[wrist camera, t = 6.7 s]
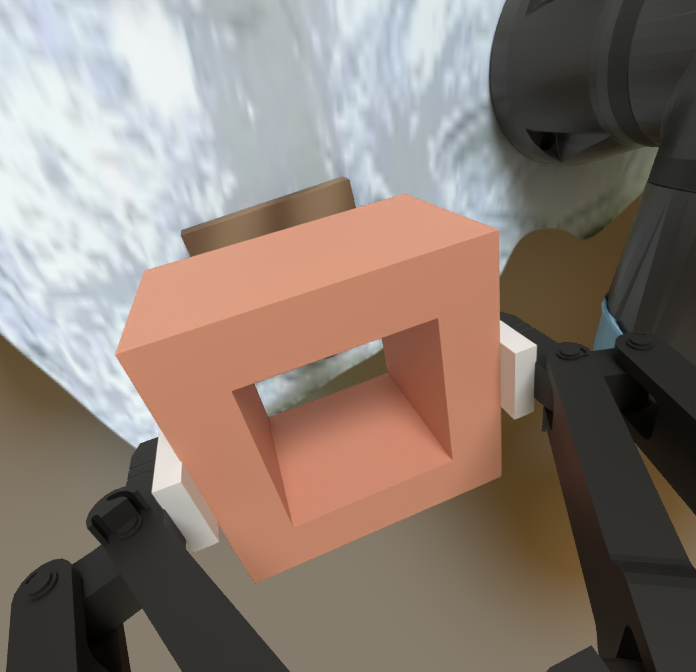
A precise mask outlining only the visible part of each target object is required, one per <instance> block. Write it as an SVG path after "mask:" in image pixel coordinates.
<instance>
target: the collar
mask: <svg viewBox="0 0 696 672" xmlns="http://www.w3.org/2000/svg"><path fill="white" fill-rule="evenodd" d="M499 297H500V294H499V230H498V229H495V228H492V227H490V226H487V225H485V224H482V223H479V222H477V221H474V220H472V219H469V218H466V217H464V216H461V215H459V214H456V213H453V212H451V211H448V210H446V209H443V208H440V207H438V206H435V205H433V204H430V203H427V202H425V201H422V200H420V199H417V198H414V197H412V196H409V195H407V194H402V195H399V196H395V197H392V198H388V199H385V200H382V201H378V202H375V203H372V204H368V205H365V206H361V207H358V208H355V209H351V210H348V211H345V212H341V213H338V214H335V215H331V216H328V217H324V218H321V219H318V220H314V221H311V222H308V223H304V224H301V225H297V226H294V227H291V228H287V229H284V230H281V231H277V232H274V233H270V234H267V235H264V236H260V237H257V238H254V239H250V240H247V241H243V242H240V243H237V244H233V245H230V246H227V247H223V248H220V249H216V250H213V251H210V252H206V253H203V254H200V255H196V256H193V257H189V258H186V259H183V260H179V261H176V262H173V263H169V264H166V265H162V266H159V267H156V268H152V269H149V270H146V271H144V273H143V276H142V279H141V282H140V285H139V287H138V290H137V293H136V296H135V299H134V302H133V305H132V308H131V310H130V313H129V316H128V319H127V322H126V325H125V328H124V331H123V333H122V336H121V339H120V342H119V345H118V348H117V351H116V354H115V355H116V357H117V359H118V360H119V362H120V363H121V365H122V367H123V368H124V370H125V372H126V373H127V375H128V377H129V378H130V380H131V382H132V383H133V385H134V386H135V388H136V390H137V391H138V393H139V395H140V396H141V398H142V400H143V401H144V403H145V405H146V406H147V408H148V410H149V411H150V413H151V414H152V416H153V418H154V419H155V421H156V423H157V424H158V426H159V428H160V429H161V431H162V433H163V434H164V436H165V437H166V439H167V441H168V442H169V444H170V446H171V447H172V449H173V451H174V452H175V454H176V456H177V457H178V459H179V460H180V462H183V464H184V466H185V467H186V469H187V471H188V472H189V474H190V476H191V477H192V479H193V481H194V482H195V484H196V486H197V487H198V489H199V491H200V492H201V494H202V496H203V497H204V499H205V500H206V502H207V504H208V505H209V507H210V509H211V510H212V512H213V514H214V515H215V517H216V519H217V520H218V525H219V526H220V528H221V530H222V531H223V532H224V534H225V536H226V538H227V539H228V541H229V543H230V544H231V546H232V548H233V549H234V551H235V552H236V554H237V556H238V558H239V559H240V561H241V562H242V564H243V566H244V567H245V569H246V571H247V572H248V574H249V576H250V577H251V579H252V580H253V582H254V584H256V583H258V582H260V581H262V580H265V579H267V578H269V577H272V576H274V575H276V574H279V573H281V572H283V571H285V570H288V569H290V568H292V567H295V566H297V565H299V564H302V563H304V562H306V561H308V560H311V559H313V558H315V557H317V556H320V555H322V554H324V553H327V552H329V551H331V550H334V549H336V548H338V547H340V546H343V545H345V544H347V543H350V542H352V541H354V540H357V539H359V538H361V537H363V536H366V535H368V534H370V533H373V532H375V531H377V530H379V529H382V528H384V527H386V526H389V525H391V524H393V523H395V522H398V521H400V520H402V519H405V518H407V517H409V516H412V515H414V514H416V513H418V512H421V511H423V510H425V509H427V508H430V507H432V506H434V505H437V504H439V503H441V502H444V501H446V500H448V499H450V498H453V497H455V496H457V495H460V494H462V493H464V492H467V491H469V490H471V489H473V488H476V487H478V486H480V485H483V484H485V483H487V482H489V481H492V480H494V479H496V478H499V477H501V476H502V465H501V464H502V458H501V457H502V456H501V391H500V301H499V300H500V298H499ZM380 338H382V342H383V348H384V352H385V358H386V363H387V368H388V373H387V374H384V375H382V376H379V377H376V378H374V379H371V380H368V381H365V382H363V383H360V384H357V385H355V386H352V387H349V388H347V389H344V390H341V391H339V392H336V393H333V394H330V395H328V396H325V397H323V398H320V399H317V400H314V401H312V402H309V403H306V404H303V405H301V406H298V407H296V408H293V409H290V410H287V411H285V412H282V413H279V414H276V415H274V416H271V417H268V416H267V414H266V411H265V409H264V406H263V404H262V401H261V399H260V397H259V394H258V392H257V389H256V387H255V384H254V383H256V382H259V381H262V380H264V379H267V378H270V377H273V376H276V375H279V374H281V373H284V372H287V371H290V370H293V369H295V368H298V367H301V366H304V365H307V364H310V363H312V362H315V361H318V360H321V359H324V358H326V357H329V356H332V355H335V354H338V353H341V352H343V351H346V350H349V349H352V348H355V347H357V346H360V345H363V344H366V343H369V342H372V341H374V340H377V339H380Z"/></svg>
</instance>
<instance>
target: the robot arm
mask: <svg viewBox="0 0 696 672" xmlns="http://www.w3.org/2000/svg"><path fill="white" fill-rule="evenodd" d="M490 81H491V93H492V100H493V105H494V109H495V113H496V116H497V119H498V122H499V124H500V126H501V129H502V130H503V132H504V134H505V136H506V137H507V139H508V140H509V141H510V143H511V144H512V145H513V146H514V147H515V148H516V149H517V150H518V151H519V152H520V153H522V154H523V155H525V156H527V157H528V158H530V159H533V160H535V161H539V162H544V163H551V164H559V165H578V164H584V163H588V162H592V161H595V160H599V159H603V158H606V157H610V156H613V155H617V154H620V153H624V152H627V151H631V150H634V149H638V148H641V147H645V146H650V147H659V149H658V152H657V155H656V158H655V161H654V164H653V167H652V169H651V172H650V175H649V178H648V180H647V183H646V185H645V188H644V191H643V194H642V197H641V200H640V203H639V206H638V209H637V211H636V214H635V217H634V220H633V223H632V226H631V229H630V232H629V235H628V237H627V240H626V243H625V246H624V249H623V252H622V255H621V258H620V260H619V264H618V266H617V269H616V272H615V275H614V278H613V281H612V283H611V286H610V289H609V292H607V294H606V295H605V297H604V299H603V301H602V303H601V307H602V316H601V319H600V323H599V326H598V330H597V333H596V337H595V340H594V346H593V351H590V350H589V348H587V347H585V346H583V345H580V344H577V343H569V342H563V343H557V342H555V341H554V340H552V339H550V338H549V337H547V336H546V335H544V334H543V333H541V332H539V331H538V330H536V329H535V328H532V327H531V326H530V325H529V324H527V323H524V321H522V320H521V319H519V318H518V317H516V316H514V315H511V314H508V313H504V312H500V391H501V407H502V408H503V409H504V410H505V411H506V412H507V413H508V414H509V415H510V416H511V417H512V418H513V419H514V420H515V419H518V418H520V417H522V416H525V415H527V414H530V413H532V412H534V402H535V399H537V400H538V401H539V402H540V403H541V404H543V405H544V408H543V425H542V431H546V428H547V432H548V436H549V440H550V444H551V448H552V452H553V456H554V460H555V464H556V468H557V472H558V476H559V480H560V484H561V488H562V492H563V496H564V500H565V504H566V508H567V512H568V516H569V520H570V524H571V528H572V532H573V536H574V540H575V544H576V548H577V552H578V555H579V560H580V564H581V568H582V572H583V576H584V580H585V584H586V588H587V592H588V596H589V600H590V604H591V608H592V612H593V616H594V620H595V624H596V631H597V645H598V653H599V655H598V654H597V652H596V651H595V650H594V648H593V647H592V646H590V647H588V648H586V649H584V650H582V651H580V652H578V653H576V654H574V655H573V656H571V657H569V658H567V659H565V660H564V661H561V662H560V663H558V664H556V665H554V666H552V667H550V668H549V669H548V671H547V672H696V569H695V568H694V567H693V566H692V564H691V562H690V561H689V559H688V556H687V554H686V552H685V550H684V548H683V546H682V544H681V542H680V539H679V537H678V535H677V533H676V531H675V529H674V526H673V524H672V522H671V520H670V518H669V516H668V514H667V511H666V509H665V507H664V505H663V503H662V501H661V499H660V497H659V494H658V492H657V490H656V488H655V486H654V484H653V482H652V480H651V477H650V475H649V473H648V471H647V469H646V467H645V464H644V462H643V460H642V458H641V456H640V454H639V452H638V449H637V447H636V445H635V443H636V444H637V446H638V447H639V448H640V449H641V450H642V452H643V453H644V454H645V455H646V456H647V458H648V459H649V460H650V461H651V462H652V464H653V465H654V466H655V467H656V468H657V470H658V471H659V472H660V473H661V474H662V476H663V477H664V478H665V479H666V480H667V482H668V483H669V484H670V485H671V486H672V488H673V489H674V490H675V491H676V492H677V493H678V495H679V496H680V497H681V498H682V499H683V500H684V502H685V503H686V504H687V505H688V507H689V508H690V509H691V510H692V511H693V513H694V514H695V515H696V0H506V2H505V5H504V7H503V10H502V13H501V15H500V18H499V22H498V25H497V29H496V33H495V37H494V42H493V48H492V55H491V69H490ZM634 442H635V443H634ZM86 524H87V528H88V530H89V531H90V532H91V533H92V534H93V535H94V536H95V538H96V539H97V540H98V541H99V542H100V543H101V545H100V546H99V547H97V548H96V549H95V550H94V551H92V552H91V553H89V554H88V555H86V556H84V557H83V558H82V559H80V560H78V561H77V562H75V563H74V564H71V563H70V562H69V561H67V560H65V559H55V560H52V561H49V562H47V563H45V564H43V565H41V566H40V567H39V568H37V569H36V570H35V571H33V572H32V573H31V574H30V575H29V576H28V577H27V578H26V579H25V580H24V581H23V582H22V583H21V585H20V587H19V588H18V589H17V591H16V593H15V594H14V598H13V601H12V604H11V616H10V629H9V642H8V654H7V668H6V672H131V670H130V663H129V657H128V651H127V645H126V638H125V632H124V626H123V622H125V621H126V620H127V619H129V618H130V617H131V616H133V615H134V614H135V613H137V612H138V611H139V610H141V609H143V610H144V611H145V613H146V615H147V616H148V618H149V620H150V621H151V623H152V624H153V626H154V628H155V629H156V631H157V632H158V634H159V636H160V637H161V639H162V640H163V642H164V644H165V645H166V647H167V648H168V650H169V652H170V653H171V655H172V656H173V658H174V660H175V661H176V663H177V664H178V666H179V668H180V669H181V671H182V672H290V671H289V670H288V669H287V668H286V666H285V665H284V664H283V663H282V662H281V661H280V659H279V658H278V657H277V656H276V655H275V653H274V652H273V651H272V650H271V649H270V648H269V646H267V644H266V643H265V642H264V641H263V640H262V638H261V637H260V636H259V635H258V634H257V632H256V631H255V630H254V629H253V628H252V627H251V625H250V624H249V623H248V622H247V621H246V619H245V618H244V617H243V616H242V615H241V614H240V612H239V611H238V610H237V609H236V608H235V606H234V605H233V604H232V603H231V602H230V601H229V599H228V598H227V597H226V596H225V595H224V594H223V592H222V591H221V590H220V589H219V588H218V587H217V585H216V584H215V583H214V582H213V581H212V580H211V578H210V577H209V576H208V575H207V574H206V573H205V571H204V570H203V569H202V568H201V567H200V565H199V564H198V563H197V562H196V561H195V559H194V558H193V557H192V556H191V555H190V554H189V552H188V551H187V550H186V543H187V544H188V546H189V547H190V549H191V550H192V551H193V553H194V552H196V551H199V550H201V549H203V548H206V547H208V546H210V545H213V544H215V543H218V542H219V535H218V520H217V519H216V517H215V515H214V514H213V512H212V510H211V509H210V507H209V505H208V504H207V502H206V500H205V499H204V497H203V496H202V494H201V492H200V491H199V489H198V487H197V486H196V484H195V482H194V481H193V479H192V477H191V476H190V474H189V472H188V471H187V469H186V467H185V466H184V464H183V462H180V460H179V459H178V457H177V456H176V454H175V452H174V451H173V449H172V447H171V446H170V444H169V442H168V441H167V439H166V437H165V436H164V434H163V433H162V431H161V429H159V437H157V438H154V439H151V440H148V441H146V442H143V443H140V445H139V446H138V448H137V449H136V451H135V452H134V454H133V456H132V458H131V463H130V471H129V473H128V481H127V483H126V487H122V488H120V489H116V490H114V491H112V492H110V493H109V494H107V495H105V496H104V497H103V498H102V499H100V500H99V501H98V502H97V503H96V504H95V506H94V507H93V508H92V510H91V511H90V512H89V514H88V517H87V520H86Z"/></svg>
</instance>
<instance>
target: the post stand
mask: <svg viewBox="0 0 696 672" xmlns="http://www.w3.org/2000/svg"><path fill="white" fill-rule="evenodd" d="M355 208H356V206H355V202H354V198H353V193H352V189H351V185H350V180H349V179H347V178H345V177H340V178H337V179H334V180H331V181H328V182H325V183H322V184H319V185H316V186H313V187H310V188H307V189H304V190H301V191H298V192H295V193H292V194H289V195H286V196H283V197H280V198H277V199H274V200H271V201H268V202H265V203H262V204H259V205H256V206H253V207H250V208H247V209H244V210H241V211H238V212H235V213H232V214H229V215H226V216H223V217H220V218H217V219H214V220H211V221H208V222H205V223H202V224H199V225H196V226H193V227H190V228H187V229H184V230H181V237H182V239H183V241H184V243H185V245H186V247H187V250H188V252H189V254H190V256H191V257H193V256H196V255H200V254H203V253H206V252H210V251H213V250H216V249H220V248H223V247H227V246H230V245H233V244H237V243H240V242H243V241H247V240H250V239H254V238H257V237H260V236H264V235H267V234H270V233H274V232H277V231H281V230H284V229H287V228H291V227H294V226H297V225H301V224H304V223H308V222H311V221H314V220H318V219H321V218H324V217H328V216H331V215H335V214H338V213H341V212H345V211H348V210H351V209H355ZM335 355H337V354H335ZM335 355H332V356H329V357H326V358H330V357H333V356H335ZM326 358H324V359H326Z"/></svg>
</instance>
